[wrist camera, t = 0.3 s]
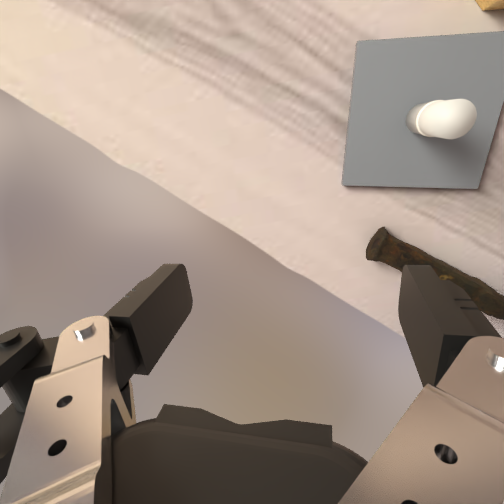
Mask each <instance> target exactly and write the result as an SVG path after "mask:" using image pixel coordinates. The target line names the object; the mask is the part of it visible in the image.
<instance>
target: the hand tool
mask: <svg viewBox="0 0 504 504" xmlns="http://www.w3.org/2000/svg"><path fill="white" fill-rule="evenodd" d="M366 258H367V260H373V261H380V262H383V263H386V264H388V265H390V266H391V267H394V268H396V269H398V270H400V271H401V272H402V270H403V267H404V265H430V266H431V267H432V268H433V270H434V271H435V273H436V274H437V275H438V277H439V278H440V280H450V281H451V282H453V283H455V284H456V285H458V286H459V287H461V288H463V289H464V290H465V292H466V293H467V294H468V295H469V297H470V298H471V301H473V302H474V303H475V304H476V306H477V307H478V310H480V311H482V312H484V313H485V314H487V315H490V316H493V317H495V318H499V319H503V320H504V296H503V295H500V294H499V293H497V292H496V291H495V290H494V289H493V288H491V287H489V286H488V285H486V284H485V283H484V282H482V281H481V280H480V279H478V278H475V277H471V276H469V275H467V274H465V273H463V272H461V271H460V270H458V269H456V268H454V267H452V266H450V265H448V264H447V263H445V262H443V261H441V260H438V259H436V258H434V257H432V256H430V255H428V254H427V253H426V252H423V251H422V250H420V249H418V248H416V247H415V246H412V245H409V244H408V243H404V242H403V241H401V240H399V239H397V238H395V237H393V236H391V235H389V234H388V233H387V231H386V229H385V227H382V228H379V229H378V231H377V232H376V233H375V235H374V236H373V237H372V238H371V240H370V242H369V244H368V246H367V249H366Z"/></svg>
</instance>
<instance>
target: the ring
mask: <svg viewBox="0 0 504 504" xmlns="http://www.w3.org/2000/svg"><path fill="white" fill-rule="evenodd" d="M475 1H476V2H477V4H478V5H479V6H480V8H481V9H482V11H484V10H496V9H504V0H475Z"/></svg>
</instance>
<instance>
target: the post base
mask: <svg viewBox="0 0 504 504" xmlns="http://www.w3.org/2000/svg"><path fill="white" fill-rule="evenodd" d="M503 102H504V31H500V32H485V33H470V34H455V35H440V36H425V37H410V38H396V39H381V40H366V41H357V44H356V53H355V62H354V71H353V81H352V90H351V100H350V109H349V119H348V128H347V137H346V147H345V156H344V166H343V175H342V185H347V186H385V187H422V188H460V189H478V186H479V183H480V180H481V176H482V173H483V169H484V166H485V163H486V159H487V156H488V153H489V149H490V146H491V142H492V139H493V136H494V132H495V129H496V126H497V122H498V119H499V115H500V112H501V109H502V105H503Z"/></svg>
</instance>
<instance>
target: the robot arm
mask: <svg viewBox="0 0 504 504" xmlns="http://www.w3.org/2000/svg"><path fill="white" fill-rule="evenodd" d="M192 301H193V300H192V294H191V289H190V285H189V280H188V276H187V271H186V268H185V266H184V265H183V264H163V265H162V266H161V267H160V268H159V269H158V270H157V271H156V272H155V273H154V274H152V275H151V276H150V277H148V278H147V279H145V280H143V281H141V282H140V283H138V284H137V286H135V287H134V288H133V289H132V291H130V292H129V293H128V294H126V296H125V297H123V298H122V299H121V300H120V301H119V302H118V303H117V304H116V305H115V306H113V307H112V308H111V309H110V310H109V311H108V312H107V313H106V314H105V315H104V316H92V317H87V318H84V319H81V320H79V321H77V322H75V323H73V324H71V325H70V326H68V327H67V328H66V329H65V330H64V331H63V332H62V333H61V334H60V336H59V337H53V338H47V339H41V337H40V335H39V333H38V331H37V329H36V328H35V327H31V326H26V327H20V328H16V329H13V330H10V331H8V332H5V333H3V334H1V335H0V387H3V389H4V390H5V392H6V394H7V395H8V397H9V398H10V400H11V402H12V404H11V405H10V406H9V407H8V408H7V409H6V410H5V411H4V412H3V413H2V414H1V415H0V483H1V482H2V481H3V480H4V479H5V477H6V476H7V477H6V481H5V484H4V487H3V490H2V494H1V498H0V504H503V501H504V338H502V337H501V336H500V335H499V333H498V332H497V331H496V330H495V328H494V327H493V326H492V325H491V323H490V322H489V321H488V319H487V318H486V317H485V316H484V314H483V313H482V312H481V311H480V310H478V307H477V306H476V304H475V303H474V302H473V301H471V298H470V297H469V295H468V294H467V293H466V292H465V290H464V289H463V288H461V287H459V286H458V285H456V284H455V283H453V282H451V281H450V280H440V278H439V277H438V275H437V274H436V273H435V271H434V270H433V268H432V267H431V266H430V265H404V267H403V270H402V278H401V287H400V296H399V306H398V312H399V320H400V324H401V327H402V329H403V332H404V335H405V338H406V340H407V343H408V346H409V349H410V351H411V354H412V357H413V360H414V362H415V365H416V368H417V371H418V374H419V376H420V379H421V382H422V385H423V389H422V391H421V392H420V393H419V394H418V396H417V397H416V399H415V400H414V401H413V403H412V404H411V405H410V407H409V408H408V410H407V411H406V412H405V413H404V415H403V416H402V417H401V419H400V420H399V422H398V423H397V424H396V426H395V427H394V428H393V430H392V431H391V432H390V434H389V435H388V437H387V438H386V439H385V440H384V442H383V443H382V445H381V446H380V447H379V449H378V450H377V451H376V453H375V454H374V455H373V457H372V458H371V460H370V461H369V462H367V461H366V460H365V459H364V458H362V457H361V456H359V455H358V454H356V453H355V452H353V451H352V450H350V449H348V448H346V447H344V446H342V445H340V444H338V443H336V442H333V441H332V426H331V425H323V424H316V423H308V422H301V421H292V420H279V421H270V422H262V423H253V424H244V425H240V424H235V423H233V422H231V421H229V420H226V419H224V418H222V417H219V416H217V415H215V414H212V413H210V412H208V411H205V410H203V409H199V408H191V407H183V406H175V405H167V404H164V405H163V407H162V409H161V411H160V413H159V415H158V416H157V418H154V419H150V420H146V421H142V422H139V423H136V415H135V405H134V396H133V387H132V383H131V380H130V378H131V377H132V375H133V374H142V375H149V373H150V372H151V370H152V369H153V367H154V366H155V364H156V363H157V362H158V360H159V358H160V357H161V356H162V354H163V352H164V351H165V349H166V348H167V346H168V345H169V343H170V342H171V341H172V339H173V338H174V336H175V335H176V333H177V332H178V330H179V329H180V327H181V326H182V324H183V323H184V321H185V320H186V318H187V317H188V315H189V313H190V312H191V309H192Z"/></svg>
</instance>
